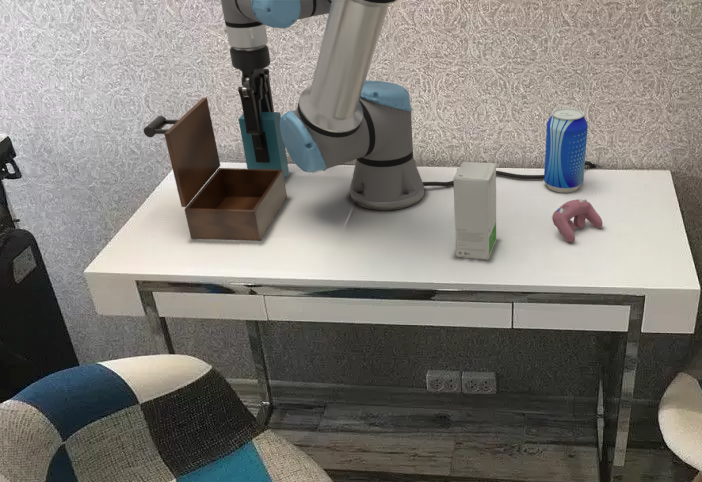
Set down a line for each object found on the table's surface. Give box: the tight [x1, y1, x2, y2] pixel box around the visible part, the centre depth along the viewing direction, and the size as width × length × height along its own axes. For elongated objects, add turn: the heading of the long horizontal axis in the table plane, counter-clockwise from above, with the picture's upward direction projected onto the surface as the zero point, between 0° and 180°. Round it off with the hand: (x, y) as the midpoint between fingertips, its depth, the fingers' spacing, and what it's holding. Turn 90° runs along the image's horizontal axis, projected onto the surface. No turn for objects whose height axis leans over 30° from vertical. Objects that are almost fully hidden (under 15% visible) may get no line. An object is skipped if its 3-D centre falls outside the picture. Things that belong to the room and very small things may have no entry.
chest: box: [184, 167, 288, 242], centre depth 154 cm, size 13×19×7 cm
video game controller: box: [551, 198, 603, 244], centre depth 151 cm, size 10×5×7 cm, turn 135°
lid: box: [143, 97, 221, 208], centre depth 149 cm, size 14×19×8 cm
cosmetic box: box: [452, 161, 497, 260], centre depth 142 cm, size 8×7×16 cm
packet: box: [238, 111, 290, 179], centre depth 169 cm, size 8×5×14 cm, turn 87°
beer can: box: [543, 107, 589, 194], centre depth 165 cm, size 8×8×16 cm
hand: (266, 156), depth 170 cm, fingers closed on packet, 5 cm apart
